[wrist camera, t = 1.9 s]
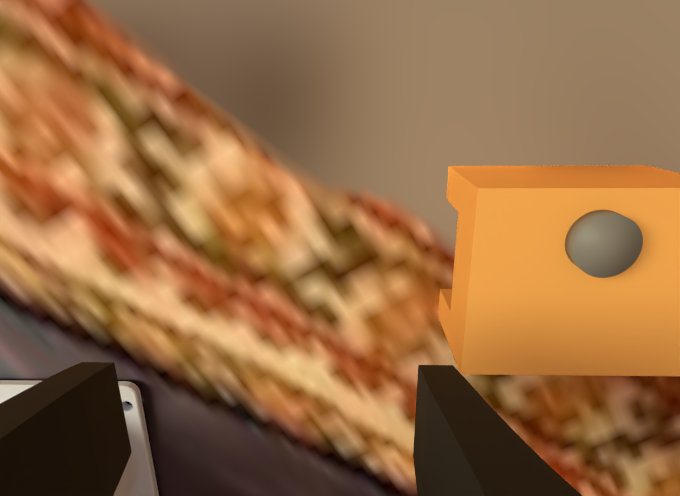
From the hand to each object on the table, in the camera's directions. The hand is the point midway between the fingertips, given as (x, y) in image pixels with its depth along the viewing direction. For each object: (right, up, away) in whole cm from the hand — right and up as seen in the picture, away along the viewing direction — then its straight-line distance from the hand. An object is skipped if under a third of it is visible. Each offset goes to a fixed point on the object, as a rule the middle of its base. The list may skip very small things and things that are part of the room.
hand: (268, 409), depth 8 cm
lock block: (+9, +3, +9) cm, 13 cm away
